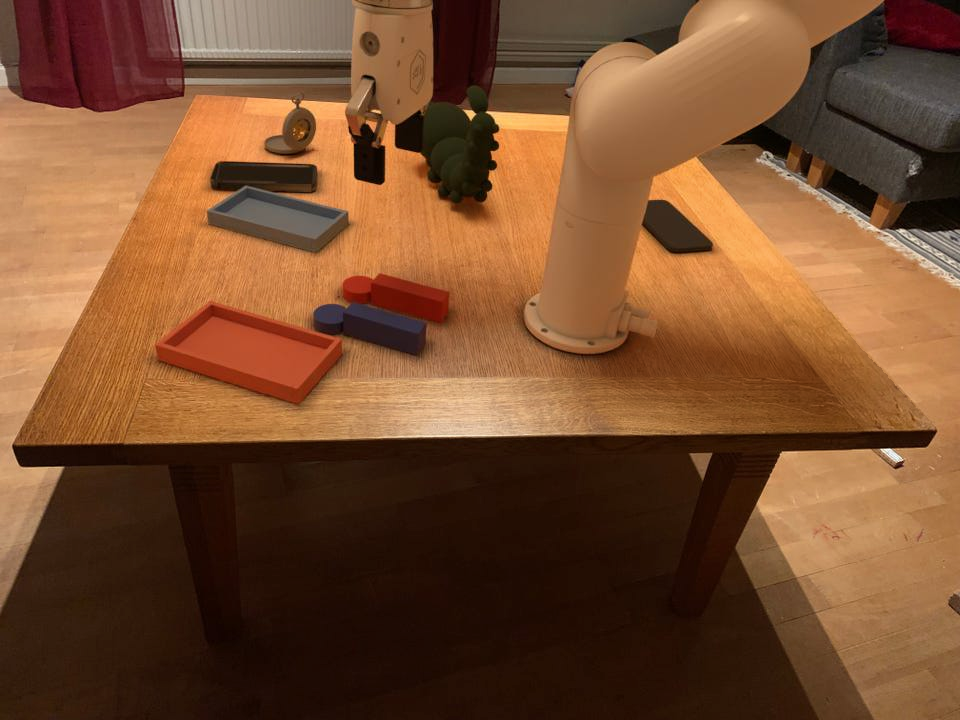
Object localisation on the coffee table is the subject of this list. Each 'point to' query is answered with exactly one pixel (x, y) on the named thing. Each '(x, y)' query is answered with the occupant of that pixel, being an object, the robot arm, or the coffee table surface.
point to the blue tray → (279, 218)
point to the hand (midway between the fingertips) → (390, 164)
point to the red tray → (251, 351)
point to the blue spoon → (372, 326)
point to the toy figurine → (460, 147)
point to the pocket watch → (294, 120)
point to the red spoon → (398, 296)
